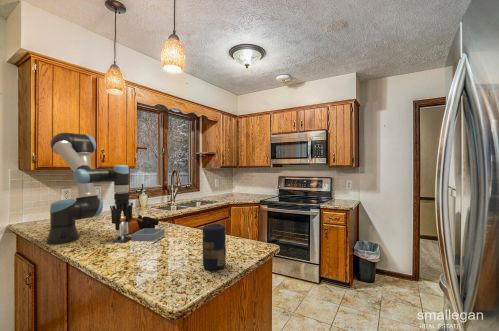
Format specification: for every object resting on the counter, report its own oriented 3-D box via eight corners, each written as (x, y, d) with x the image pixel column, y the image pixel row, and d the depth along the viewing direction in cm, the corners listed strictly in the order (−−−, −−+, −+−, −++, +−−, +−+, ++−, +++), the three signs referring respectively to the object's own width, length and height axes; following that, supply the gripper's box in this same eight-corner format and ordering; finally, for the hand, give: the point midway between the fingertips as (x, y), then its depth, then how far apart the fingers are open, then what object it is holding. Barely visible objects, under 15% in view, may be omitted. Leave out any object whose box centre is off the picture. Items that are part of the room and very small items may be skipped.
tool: (154, 243, 160) (162, 219, 165) (120, 237, 144) (130, 211, 148) (147, 240, 165) (155, 218, 170) (114, 235, 149) (124, 210, 153)
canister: (204, 263, 107) (203, 221, 107) (226, 261, 108) (225, 220, 108) (201, 272, 98) (200, 226, 98) (225, 271, 98) (225, 225, 98)
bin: (131, 243, 137) (131, 234, 137) (144, 236, 149) (143, 228, 149) (153, 243, 135) (153, 234, 135) (164, 237, 148) (164, 228, 148)
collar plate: (108, 245, 134) (107, 240, 134) (119, 239, 144) (119, 235, 144) (125, 245, 133) (125, 241, 133) (135, 240, 143) (135, 235, 143)
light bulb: (116, 241, 135) (115, 217, 135) (117, 239, 140) (116, 216, 140) (126, 240, 137) (125, 216, 137) (127, 237, 142) (126, 215, 142)
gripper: (113, 194, 129) (113, 239, 129) (138, 191, 145) (139, 231, 145) (103, 194, 132) (103, 238, 132) (129, 190, 148) (130, 230, 148)
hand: (122, 234), depth 138 cm, fingers closed on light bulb, 4 cm apart
